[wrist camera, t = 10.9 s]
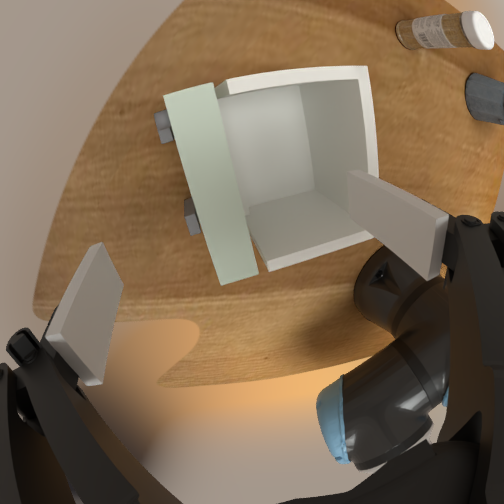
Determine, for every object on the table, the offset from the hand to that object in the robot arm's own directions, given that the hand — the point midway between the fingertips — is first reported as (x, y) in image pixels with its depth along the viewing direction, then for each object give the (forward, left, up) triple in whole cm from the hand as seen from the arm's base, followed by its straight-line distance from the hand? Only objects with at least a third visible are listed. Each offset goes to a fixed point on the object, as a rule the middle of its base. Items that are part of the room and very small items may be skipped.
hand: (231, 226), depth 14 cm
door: (0, 0, -17) cm, 17 cm away
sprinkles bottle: (+13, -29, -17) cm, 36 cm away
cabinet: (0, -4, -17) cm, 17 cm away
